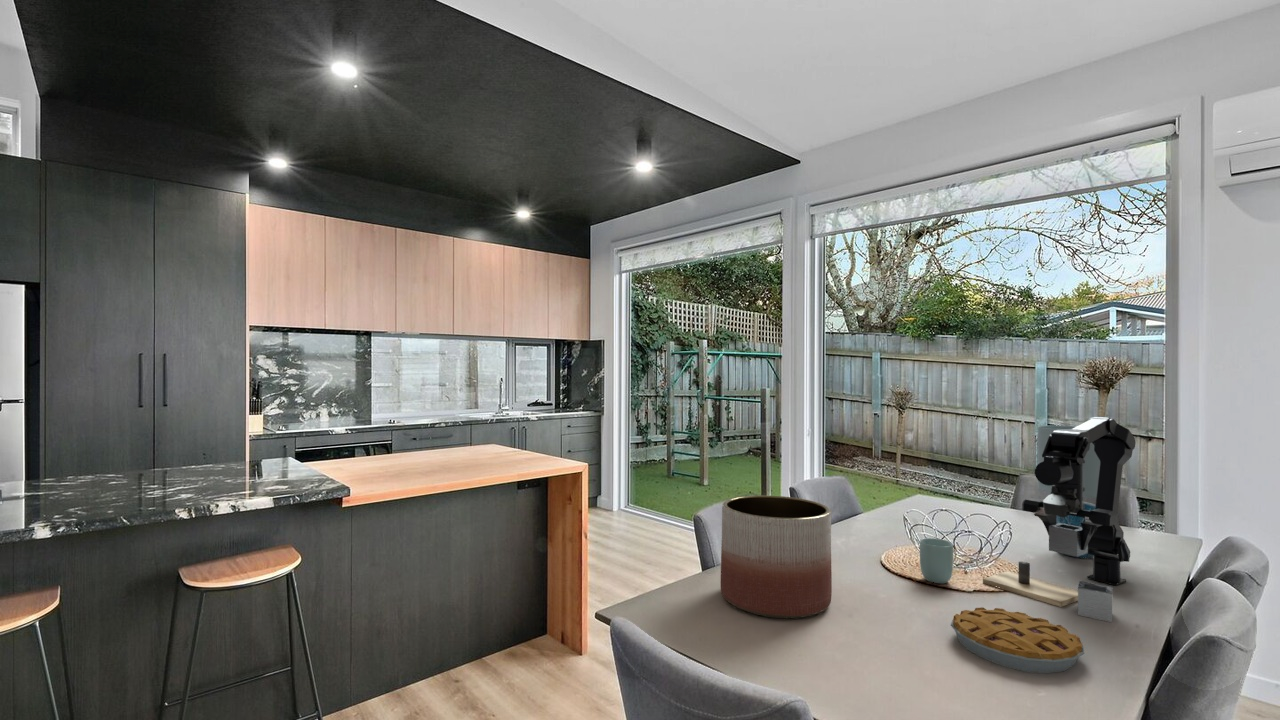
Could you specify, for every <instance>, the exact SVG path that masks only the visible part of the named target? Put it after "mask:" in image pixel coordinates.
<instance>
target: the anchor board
mask: <svg viewBox="0 0 1280 720" xmlns="http://www.w3.org/2000/svg"><path fill="white" fill-rule="evenodd" d="M1030 567H1031V564H1030V563H1029V562H1028V561H1022V560H1021V561H1019V560H1018V573H1016V572H1013V571H1010V570H1007V571H1004V572H1003V571H1002V572H1000V573H997V574H994V575H991V576H987V577H983V578H982V584H984V583H986V584H985V585H987V584H989V585H988V586H990V585H993V586H992V587H994V586H997V587H1000V588H1003V589H1005V591H1007V592H1011V593H1014V594H1017V595H1020V596H1024V597H1028V598H1031V599H1033V600H1036V601H1039V602H1043V603H1047V604H1049V605H1053V606H1056V607H1059V608H1063V607H1065V606H1067V605H1070V604H1072V603H1075V602H1078V589H1075V588H1071V587H1067V586H1063V585H1060V584H1057V583H1052V582H1049V581H1046V580H1042V579H1037V578H1035V577H1031V575H1030V574H1031V568H1030ZM997 587H996V588H997ZM1000 588H999V589H1000ZM1003 589H1002V590H1003Z"/></svg>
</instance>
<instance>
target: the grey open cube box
mask: <svg viewBox="0 0 1280 720" xmlns="http://www.w3.org/2000/svg"><path fill="white" fill-rule="evenodd" d="M1077 590H1078V601H1077V615H1078V616H1081V617H1085V618H1090V619H1095V620H1098V621H1099V620H1100V621H1104V622H1110V623H1113V586H1110V585H1109V586H1108V585H1103V584H1098V583H1092V582H1087V581H1083V580H1082V581H1081V580H1079V582H1078V586H1077Z"/></svg>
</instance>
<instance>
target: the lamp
mask: <svg viewBox="0 0 1280 720" xmlns="http://www.w3.org/2000/svg"><path fill="white" fill-rule="evenodd" d="M1077 426H1078V425H1074V426H1073V425H1038V426H1037V465H1038V464H1039V463H1041V462H1043V461H1044V457H1042V454H1043V451H1044V449H1045V446H1046V443H1047V441H1048V438H1049V436H1050V435H1051V433H1052V432H1053V431H1055V430H1061V429H1073V428H1075V427H1077ZM1083 459H1084V460H1085V463H1084V464H1082V465H1083V487H1085V491H1084V492H1083V498H1089V499H1096V496H1097V487H1098V478H1099V469H1100V460H1099V458H1098V457H1097V455H1096V453H1095V451H1094V444H1093V443H1090V450H1089V451H1088V452H1087V453H1086V456H1085V458H1083ZM1052 486H1054V485H1052ZM1052 486H1047V485H1044V484H1042V483H1040V482H1039V481H1038V480H1037V489H1038V490H1040V491H1043V492H1047V493H1050V494H1051V489H1052ZM1083 504H1085V508H1084V509H1083V510H1088V511H1091V510H1095V505H1096V503H1095V504H1094V503H1091V502H1086V501H1083ZM1082 522H1085V518H1083V517H1077V516H1072V515H1068V516H1067V517H1059V516H1056V524H1058V523H1063V524H1068V525H1073V526H1079V527H1082V526H1081V523H1082ZM1061 554H1062V555H1064V556H1068V557H1073V558H1079V559H1091V558H1092V559H1093V555H1090V554H1084V555H1081V556H1078V557H1076V556H1071V555H1067V554H1063V553H1061Z"/></svg>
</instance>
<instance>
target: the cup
mask: <svg viewBox="0 0 1280 720" xmlns="http://www.w3.org/2000/svg"><path fill="white" fill-rule="evenodd" d="M919 564H920V565H919V566H920V572H921V575H922V576H923V578H924V579H925V580H926V581H928V582H930V583H933V582H934V583H933V584H947V583H948V582H949V581H950V580H951V578H952V576H953V570H954V544H953V543H952V542H951V541H949V540H947V539H946V540H945V539H941V538H933V537H932V538H931V537H930V538H929V537H926V538H925V537H924V538H921V539H920V540H919Z"/></svg>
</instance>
